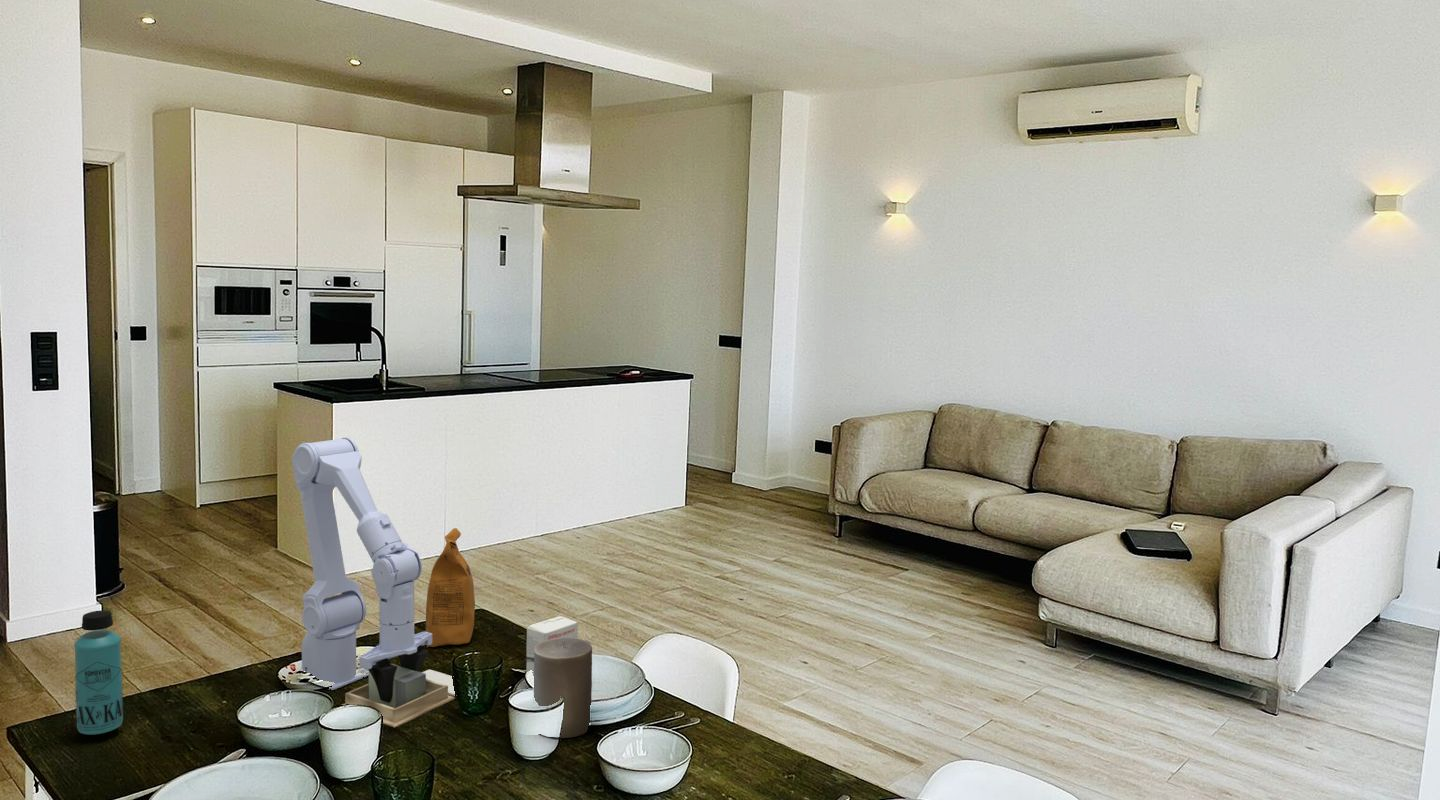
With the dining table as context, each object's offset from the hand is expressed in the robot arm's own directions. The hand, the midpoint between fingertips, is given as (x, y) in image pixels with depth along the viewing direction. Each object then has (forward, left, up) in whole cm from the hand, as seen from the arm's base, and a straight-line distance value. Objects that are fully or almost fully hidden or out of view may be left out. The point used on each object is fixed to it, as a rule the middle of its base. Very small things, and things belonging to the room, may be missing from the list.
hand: (397, 695), depth 173 cm
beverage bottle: (-29, -34, -2) cm, 45 cm away
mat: (0, +11, -1) cm, 11 cm away
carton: (0, 0, -1) cm, 1 cm away
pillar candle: (+29, +9, -2) cm, 30 cm away
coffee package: (-15, +28, -2) cm, 32 cm away
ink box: (+17, +21, -2) cm, 27 cm away
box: (0, 0, -1) cm, 1 cm away
